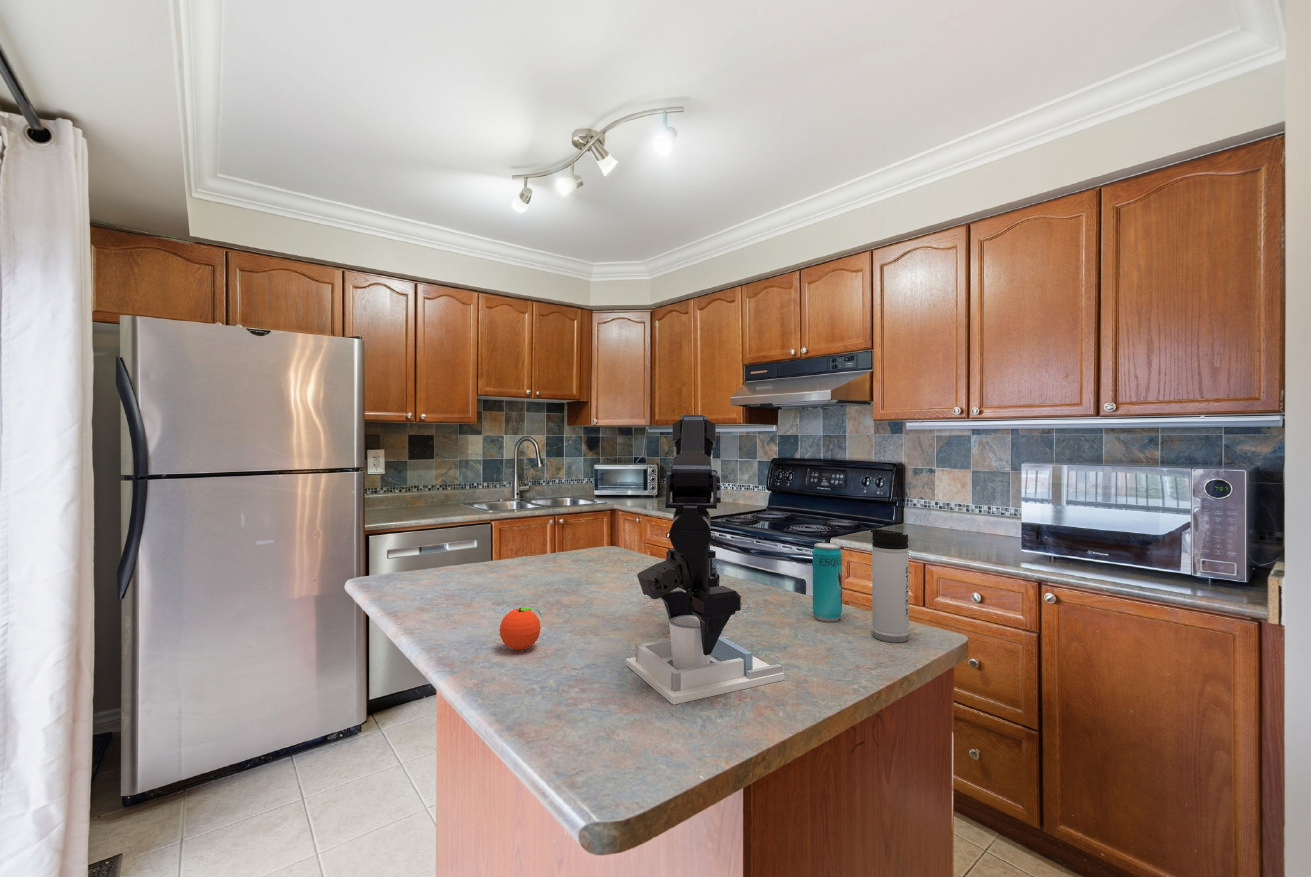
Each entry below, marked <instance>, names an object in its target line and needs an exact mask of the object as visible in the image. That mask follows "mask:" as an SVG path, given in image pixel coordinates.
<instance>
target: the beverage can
mask: <svg viewBox="0 0 1311 877" xmlns="http://www.w3.org/2000/svg"><path fill="white" fill-rule="evenodd" d="M813 547H814V548H813V550H812V612H813V614H814V617H815V618H816V620H817V621H821V622H826V623H827V622H828V623H830V622H831V623H834V622H837V621H839V620H840V619H841V615H842V613H843V553H842V551H841V550H842V549H841V545H840V544H837V543H832V542H831V543H830V542H829V543H828V542H819V543H818V542H817V543H815V544H814V545H813Z"/></svg>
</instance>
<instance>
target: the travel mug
mask: <svg viewBox="0 0 1311 877" xmlns="http://www.w3.org/2000/svg"><path fill="white" fill-rule="evenodd" d="M870 533H872V537H871V538H872V540H871V541H872V544H871V548H872V550H871V569H872V570H871V578H872V581H871V588H872V589H871V590H872V591H871V595H872V596H871V600H872V602H871V603H872V604H871V607H872V610H871V611H872V612H871V618H872V622H871V623H872V624H871V626H872V628H871V631H872V636H873V637H874V638H875V639H877V640H879V641H881V642H886V643H893V644H894V643H895V644H897V643H899V644H900V643H905V642H907V641H908V640H909V639H910V632H909V629H910V626H909V625H910V616H909V614H910V610H909V609H910V607H909V606H910V605H909V604H910V601H909V600H910V599H909V598H910V596H909V592H910V591H909V590H910V585H909V584H910V583H909V581H910V579H909V576H910V575H909V571H910V570H909V557H910V555H909V535H908V534H903V533H902V532H899V531H894V530H889V529H888V530H887V529H878V528H875V527H872V528H870Z"/></svg>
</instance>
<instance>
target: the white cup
mask: <svg viewBox="0 0 1311 877" xmlns="http://www.w3.org/2000/svg"><path fill="white" fill-rule="evenodd" d="M668 625H669V635H670V636H669V637H670V639H671V649H672V661H673V667H674V668H675V669H677V670H680V669H685V668H690V667H696V666H701V665H706V664H710V655H704V654H703V648H702V639H701V629H700V621H699V619H698V618H697V617H696V616H695V615H685V616H678V617H674V618H672V619H670V621H669V622H668Z"/></svg>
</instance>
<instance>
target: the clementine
mask: <svg viewBox="0 0 1311 877" xmlns="http://www.w3.org/2000/svg"><path fill="white" fill-rule="evenodd" d="M532 610H536V611H537V612H538V614H539V615H540V616H541V617H543V615H542V613H541V612H540V611H539V610H538V609H537V608H532V607H522V608H521V607H519V608H514V609H512V610H510V611H509V612H508V613H506V614H505V616H504V617H503V618H502V620H501V622H500V625H499V636H500V639H501V641H502V643H503V644H504V645H505V646H506V647H507V648H509V649H510V650H514V651H523V650H525V649H526V650H527V649H529V648H531V647H532V646H533V645H534V644H535V643H536V642H537V641H538V640H539V639H538V638H539V636H540V635H541V623H540V622H541V621H540V619H539V616H537V615H536V613H535V612H534V611H532Z"/></svg>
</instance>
